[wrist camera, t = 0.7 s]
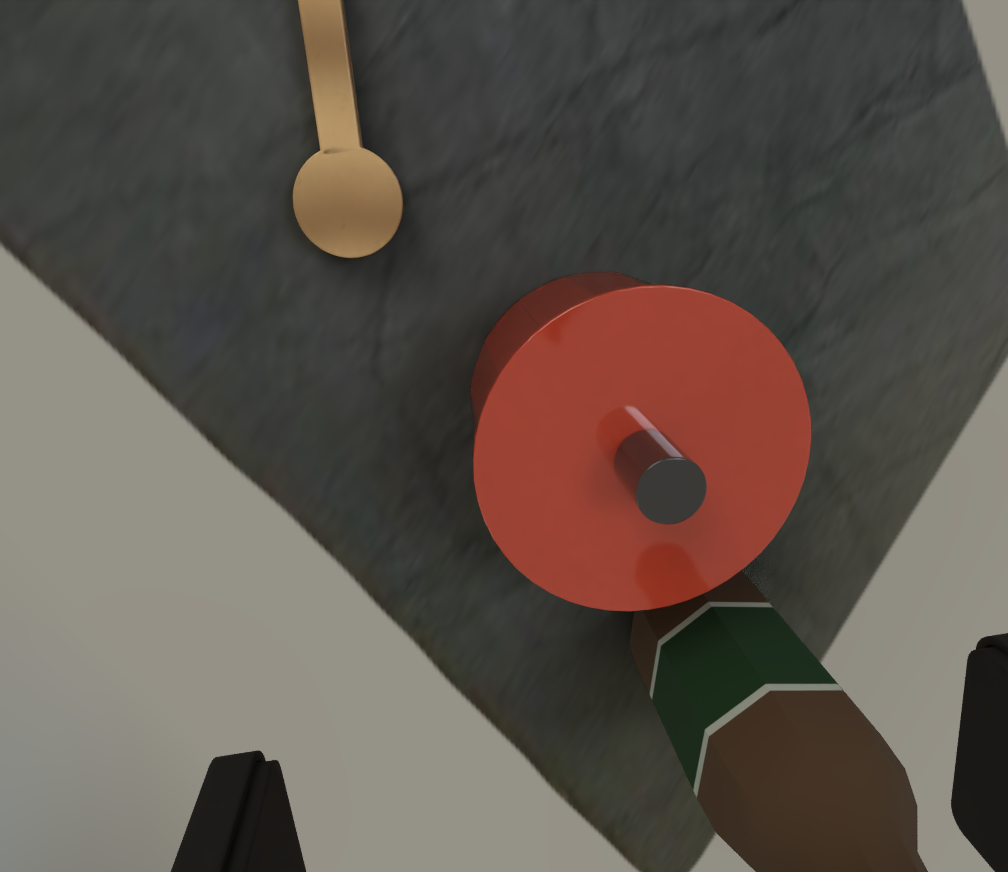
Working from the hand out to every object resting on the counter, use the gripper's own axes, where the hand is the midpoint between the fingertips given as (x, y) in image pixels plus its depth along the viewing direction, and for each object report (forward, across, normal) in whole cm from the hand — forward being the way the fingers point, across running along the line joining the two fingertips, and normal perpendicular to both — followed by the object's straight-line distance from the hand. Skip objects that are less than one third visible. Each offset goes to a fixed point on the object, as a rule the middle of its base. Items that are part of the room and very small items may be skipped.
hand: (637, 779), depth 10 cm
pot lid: (+18, -5, +2) cm, 19 cm away
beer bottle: (+26, -10, +16) cm, 32 cm away
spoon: (+26, +5, -11) cm, 29 cm away
